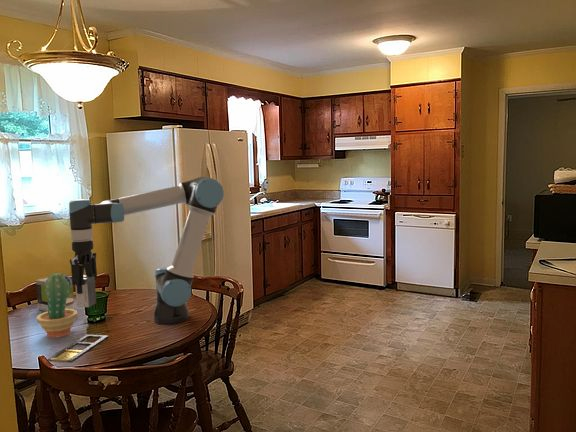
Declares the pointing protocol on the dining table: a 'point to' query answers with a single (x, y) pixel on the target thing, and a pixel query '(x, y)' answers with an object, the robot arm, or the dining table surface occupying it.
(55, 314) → the potted cactus
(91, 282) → the grey rectangular block
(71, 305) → the lidded jar
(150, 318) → the dining table surface
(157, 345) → the dining table surface
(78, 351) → the grey flat rectangular frame
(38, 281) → the tea box
